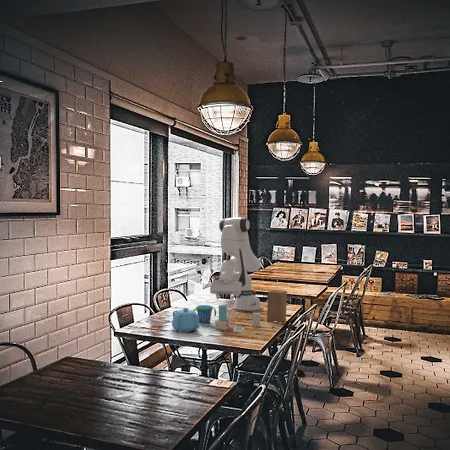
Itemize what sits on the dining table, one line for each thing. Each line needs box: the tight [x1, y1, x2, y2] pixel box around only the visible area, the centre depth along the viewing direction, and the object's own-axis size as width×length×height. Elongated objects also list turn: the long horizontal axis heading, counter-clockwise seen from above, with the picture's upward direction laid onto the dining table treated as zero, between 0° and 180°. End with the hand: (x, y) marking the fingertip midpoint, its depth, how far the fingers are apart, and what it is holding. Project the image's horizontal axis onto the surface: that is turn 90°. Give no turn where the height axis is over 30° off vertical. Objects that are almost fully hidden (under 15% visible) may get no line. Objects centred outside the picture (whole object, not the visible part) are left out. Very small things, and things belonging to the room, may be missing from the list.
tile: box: [232, 327, 245, 333], centre depth 311 cm, size 9×6×1 cm, turn 174°
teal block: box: [218, 304, 228, 321], centre depth 315 cm, size 4×4×9 cm
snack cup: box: [193, 304, 217, 324], centre depth 329 cm, size 16×10×10 cm
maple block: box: [214, 318, 230, 331], centre depth 315 cm, size 7×7×5 cm
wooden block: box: [266, 289, 288, 323], centre depth 337 cm, size 10×10×20 cm
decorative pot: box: [171, 307, 201, 334], centre depth 307 cm, size 16×16×14 cm
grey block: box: [252, 312, 261, 326], centre depth 323 cm, size 4×4×8 cm
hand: (225, 298), depth 322 cm, fingers open, 8 cm apart
